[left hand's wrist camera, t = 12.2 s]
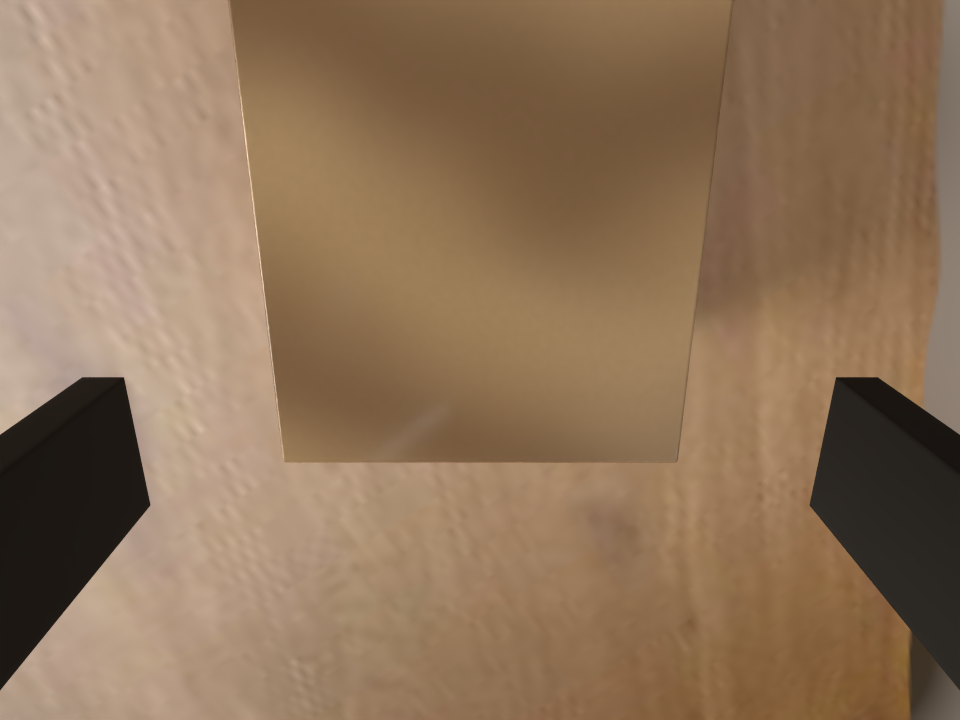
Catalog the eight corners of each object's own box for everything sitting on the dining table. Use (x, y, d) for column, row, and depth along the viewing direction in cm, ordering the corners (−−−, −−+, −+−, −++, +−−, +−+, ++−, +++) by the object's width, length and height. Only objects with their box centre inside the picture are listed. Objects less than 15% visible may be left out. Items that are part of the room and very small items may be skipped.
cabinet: (297, -309, 21) (150, -639, 12) (663, -309, 21) (811, -638, 12) (346, 345, 29) (282, 463, 19) (613, 345, 29) (678, 463, 19)
